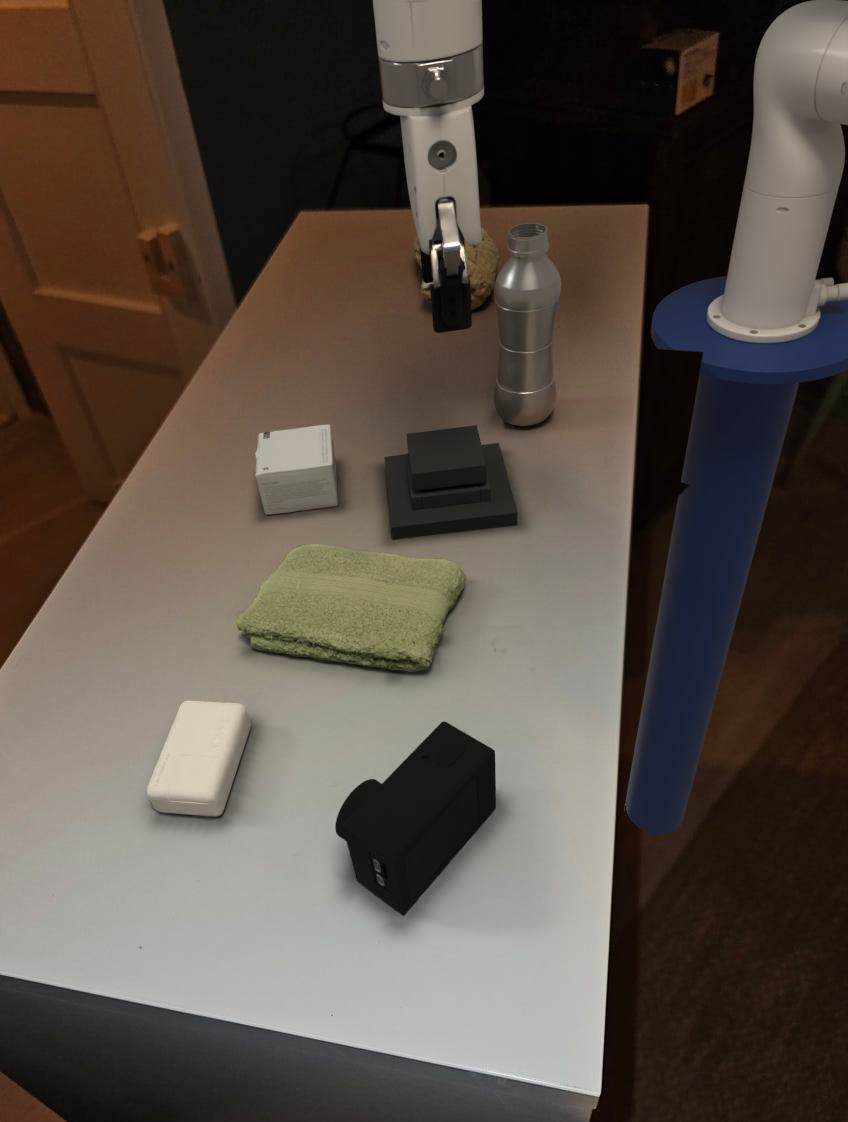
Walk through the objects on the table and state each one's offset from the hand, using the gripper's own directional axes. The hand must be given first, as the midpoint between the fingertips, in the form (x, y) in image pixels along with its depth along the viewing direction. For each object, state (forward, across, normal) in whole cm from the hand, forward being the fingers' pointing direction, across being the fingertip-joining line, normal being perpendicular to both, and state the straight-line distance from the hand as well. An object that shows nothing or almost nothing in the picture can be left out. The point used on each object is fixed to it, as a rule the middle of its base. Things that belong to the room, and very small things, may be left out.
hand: (446, 303), depth 75 cm
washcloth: (+18, -19, +11) cm, 29 cm away
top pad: (+17, -3, +1) cm, 17 cm away
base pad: (+18, -3, +1) cm, 19 cm away
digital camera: (+18, -42, +8) cm, 46 cm away
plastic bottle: (+19, +10, -9) cm, 23 cm away
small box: (+19, +1, +16) cm, 25 cm away
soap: (+18, -34, +23) cm, 45 cm away
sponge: (+19, +46, -5) cm, 50 cm away
